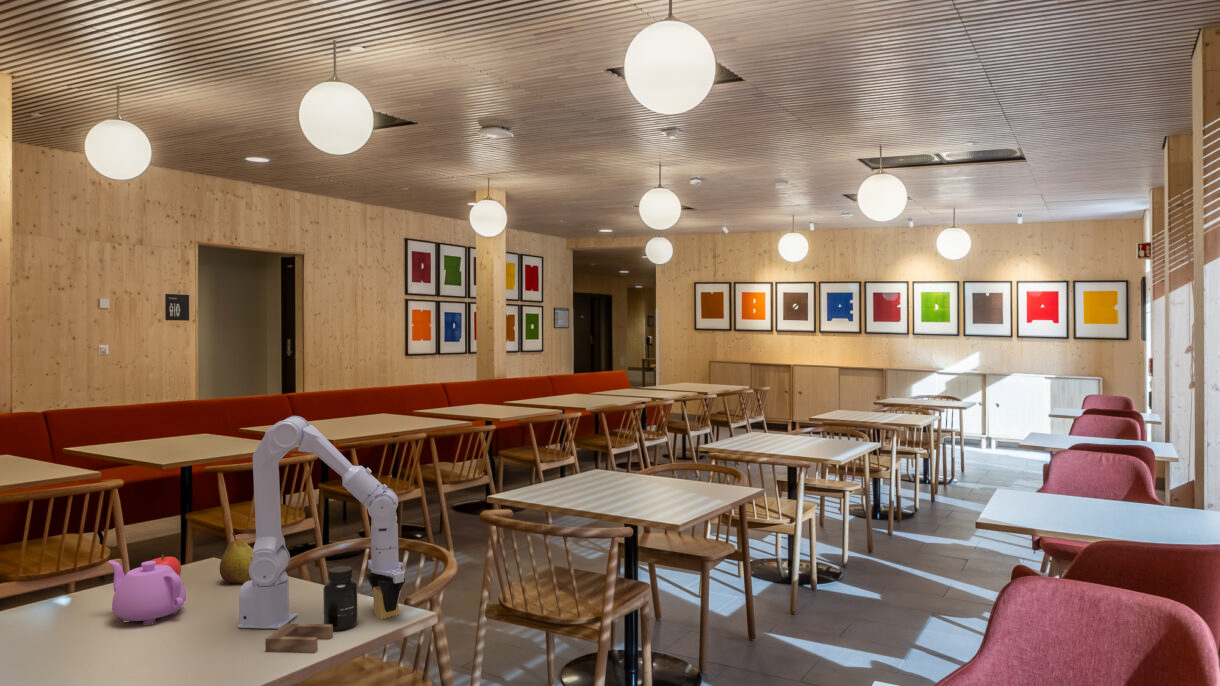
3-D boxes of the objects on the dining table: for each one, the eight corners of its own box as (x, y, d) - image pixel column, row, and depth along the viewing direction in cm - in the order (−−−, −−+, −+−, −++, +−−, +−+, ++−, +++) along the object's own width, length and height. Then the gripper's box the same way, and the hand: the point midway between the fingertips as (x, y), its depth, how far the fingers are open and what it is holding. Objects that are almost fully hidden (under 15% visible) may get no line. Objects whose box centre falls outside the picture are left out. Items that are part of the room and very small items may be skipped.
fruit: (257, 584, 200) (256, 536, 199) (217, 588, 197) (215, 539, 197) (262, 574, 208) (260, 527, 208) (223, 577, 205) (222, 530, 205)
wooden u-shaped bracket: (265, 651, 158) (265, 638, 157) (286, 635, 165) (285, 623, 165) (314, 652, 156) (314, 639, 156) (333, 636, 164) (332, 624, 164)
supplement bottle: (347, 632, 166) (346, 575, 166) (317, 630, 168) (315, 573, 168) (364, 620, 173) (362, 565, 173) (335, 619, 175) (333, 563, 174)
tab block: (381, 619, 174) (380, 591, 174) (373, 614, 177) (373, 587, 177) (398, 614, 177) (398, 587, 176) (391, 610, 180) (390, 583, 180)
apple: (137, 591, 196) (136, 558, 196) (160, 580, 204) (159, 549, 204) (166, 592, 195) (165, 559, 194) (189, 582, 202) (188, 550, 202)
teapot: (82, 623, 174) (81, 567, 174) (138, 602, 188) (136, 550, 188) (156, 632, 169) (154, 574, 168) (208, 609, 182) (206, 555, 182)
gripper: (416, 549, 173) (417, 612, 174) (388, 536, 185) (389, 595, 185) (385, 555, 169) (386, 620, 169) (358, 542, 180) (359, 602, 181)
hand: (386, 607), depth 177 cm, fingers open, 4 cm apart
